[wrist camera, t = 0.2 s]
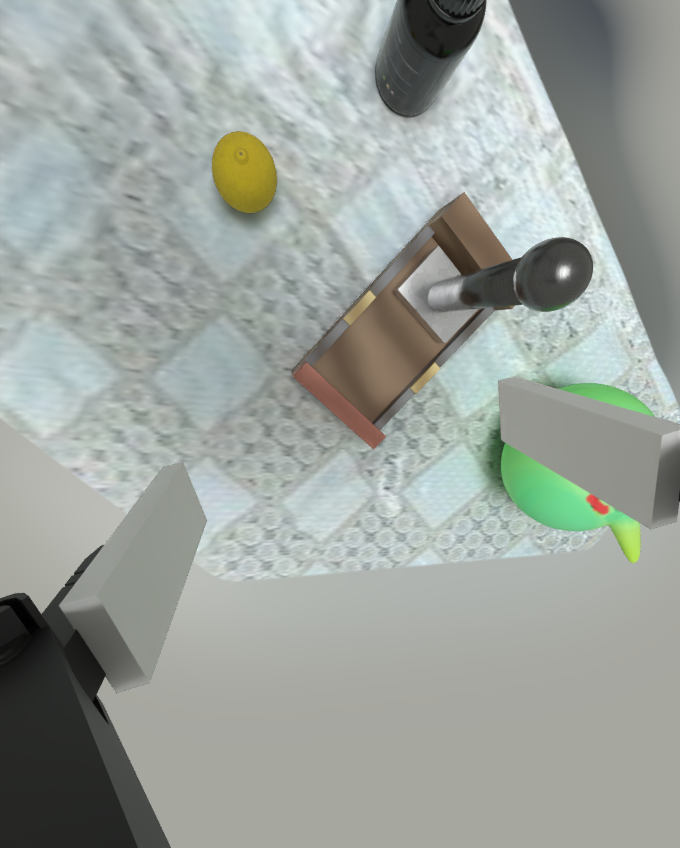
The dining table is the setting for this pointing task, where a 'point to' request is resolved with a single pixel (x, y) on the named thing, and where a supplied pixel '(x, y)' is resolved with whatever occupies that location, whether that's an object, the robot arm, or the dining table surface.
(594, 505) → the toy bird
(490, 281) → the press handle
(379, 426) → the press base
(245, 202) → the lemon
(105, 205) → the dining table surface
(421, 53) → the supplement bottle
